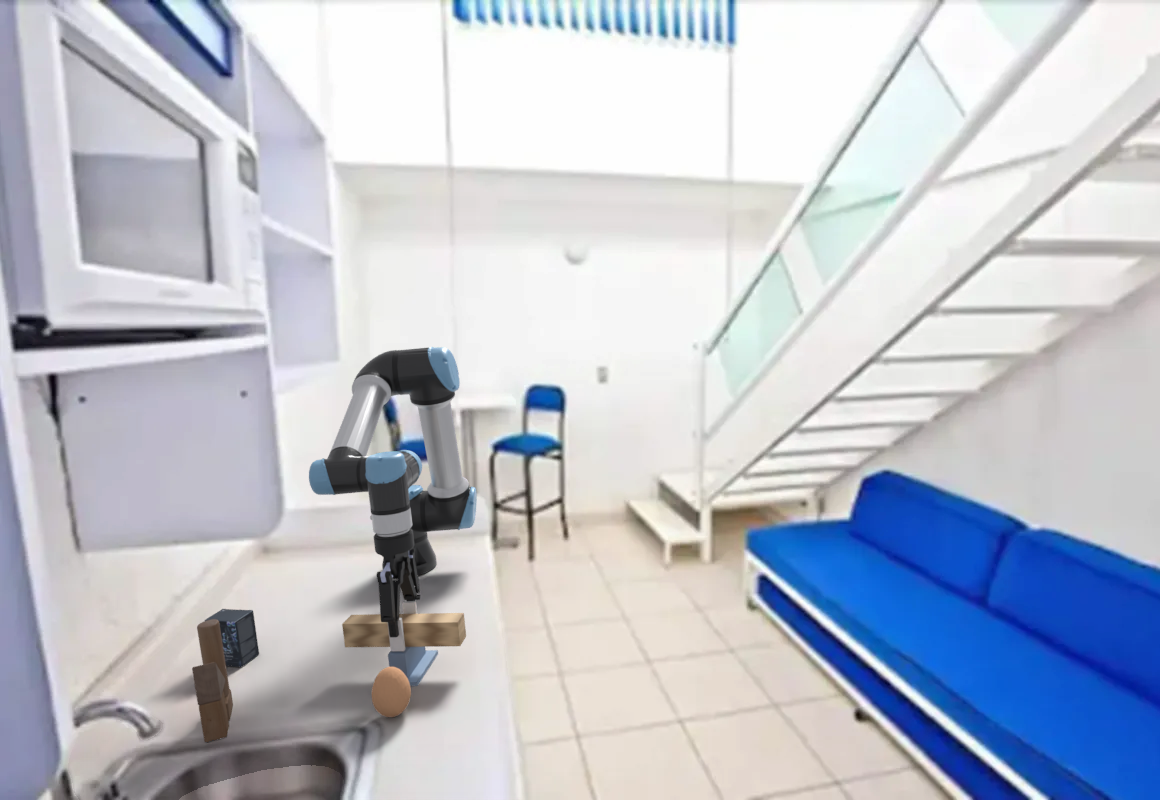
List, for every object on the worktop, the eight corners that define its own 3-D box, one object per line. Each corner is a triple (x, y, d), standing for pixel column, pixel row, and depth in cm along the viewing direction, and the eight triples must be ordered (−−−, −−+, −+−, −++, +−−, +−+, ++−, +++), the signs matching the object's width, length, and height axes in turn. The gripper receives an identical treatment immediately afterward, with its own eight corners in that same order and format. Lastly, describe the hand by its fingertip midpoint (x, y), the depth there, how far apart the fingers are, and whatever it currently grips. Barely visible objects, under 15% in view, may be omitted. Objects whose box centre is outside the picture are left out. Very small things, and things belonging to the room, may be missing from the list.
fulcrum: (401, 654, 139) (398, 627, 139) (438, 653, 138) (435, 627, 138) (378, 686, 128) (374, 657, 127) (417, 686, 127) (414, 656, 126)
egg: (367, 717, 118) (361, 670, 117) (399, 699, 123) (394, 654, 122) (387, 731, 113) (381, 683, 112) (420, 711, 118) (415, 665, 117)
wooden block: (204, 744, 113) (188, 646, 111) (212, 711, 123) (197, 621, 121) (227, 737, 115) (212, 641, 112) (234, 705, 125) (220, 616, 122)
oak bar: (345, 647, 132) (342, 623, 131) (354, 637, 136) (351, 614, 135) (460, 646, 129) (457, 622, 128) (466, 636, 133) (463, 612, 132)
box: (210, 666, 140) (203, 619, 139) (230, 652, 146) (223, 607, 145) (241, 668, 139) (234, 621, 137) (260, 654, 144) (253, 609, 143)
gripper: (394, 516, 139) (406, 618, 142) (351, 549, 120) (366, 667, 123) (428, 514, 138) (439, 618, 141) (390, 547, 119) (404, 666, 122)
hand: (405, 640), depth 132 cm, fingers open, 7 cm apart
